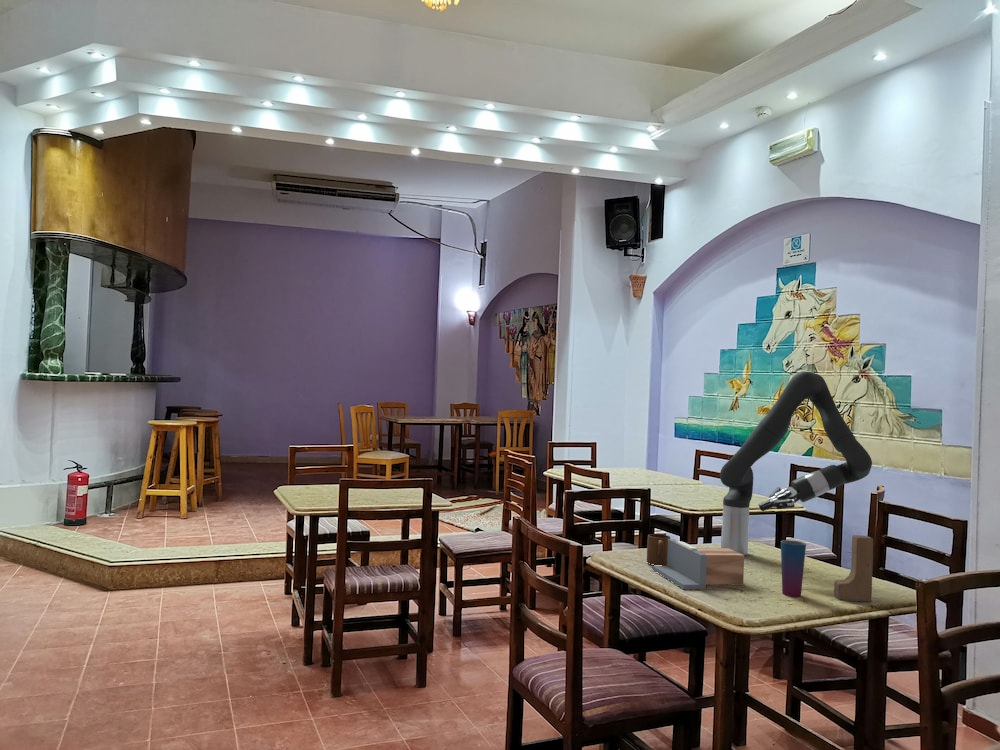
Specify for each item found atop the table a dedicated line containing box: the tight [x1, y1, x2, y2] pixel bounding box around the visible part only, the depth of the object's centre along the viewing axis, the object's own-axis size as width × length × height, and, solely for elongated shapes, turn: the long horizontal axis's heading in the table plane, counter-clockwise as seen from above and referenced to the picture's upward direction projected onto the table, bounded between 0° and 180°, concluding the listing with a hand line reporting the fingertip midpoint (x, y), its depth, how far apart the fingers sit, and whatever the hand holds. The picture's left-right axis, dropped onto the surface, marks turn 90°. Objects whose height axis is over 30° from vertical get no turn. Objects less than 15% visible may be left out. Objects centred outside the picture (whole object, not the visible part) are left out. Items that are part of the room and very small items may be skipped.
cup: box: [780, 539, 807, 598], centre depth 210 cm, size 7×7×15 cm
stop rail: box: [651, 538, 707, 590], centre depth 221 cm, size 23×7×11 cm, turn 11°
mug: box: [646, 533, 671, 566], centre depth 239 cm, size 12×8×9 cm, turn 173°
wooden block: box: [833, 534, 874, 603], centre depth 208 cm, size 9×4×18 cm, turn 82°
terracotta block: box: [696, 547, 745, 585], centre depth 222 cm, size 10×15×9 cm, turn 100°
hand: (760, 508), depth 235 cm, fingers closed
